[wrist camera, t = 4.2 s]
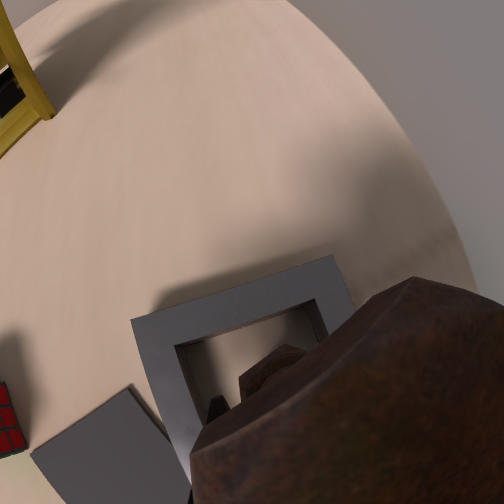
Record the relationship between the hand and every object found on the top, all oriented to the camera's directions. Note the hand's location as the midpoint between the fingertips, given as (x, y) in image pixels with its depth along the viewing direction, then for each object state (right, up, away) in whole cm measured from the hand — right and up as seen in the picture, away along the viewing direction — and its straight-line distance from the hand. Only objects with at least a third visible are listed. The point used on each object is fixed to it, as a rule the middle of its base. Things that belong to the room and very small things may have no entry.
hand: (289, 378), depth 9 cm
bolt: (0, -4, +7) cm, 8 cm away
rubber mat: (-10, -12, +4) cm, 16 cm away
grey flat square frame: (0, -4, +7) cm, 8 cm away
